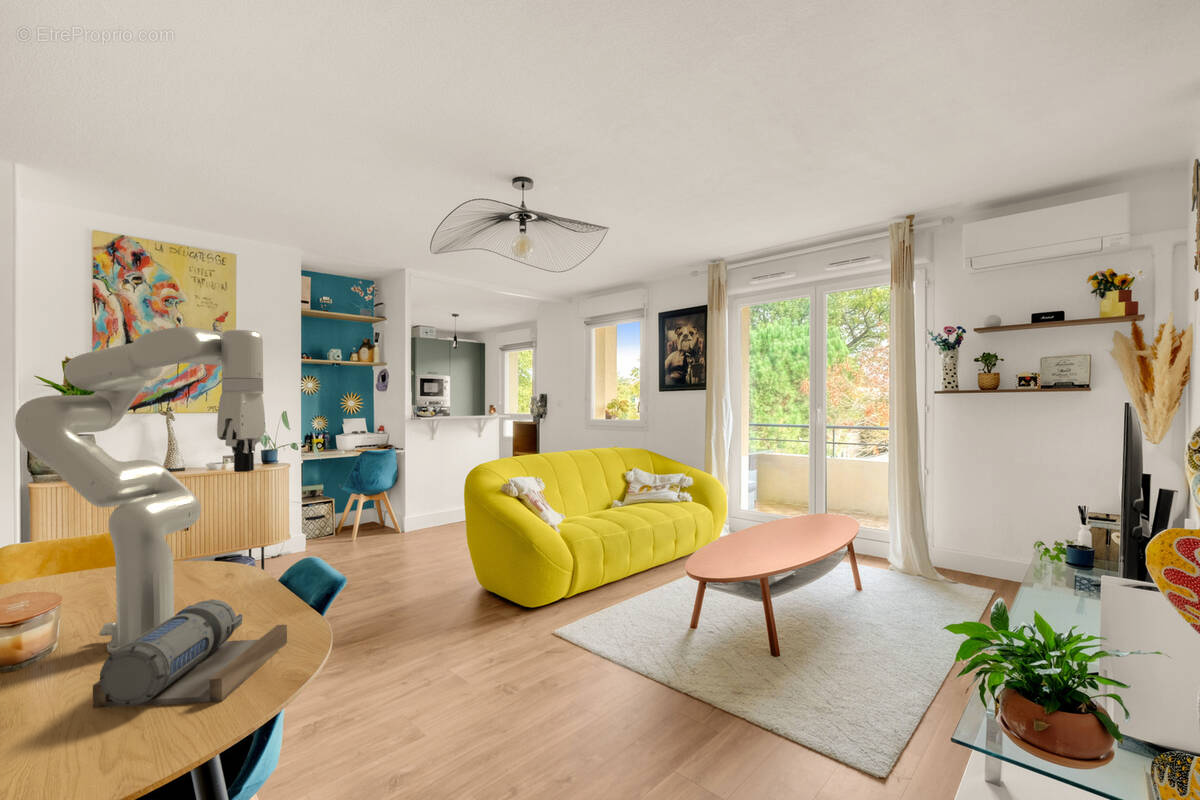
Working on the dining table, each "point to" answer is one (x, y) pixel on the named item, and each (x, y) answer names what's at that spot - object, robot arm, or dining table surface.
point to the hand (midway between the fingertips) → (244, 471)
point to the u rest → (212, 672)
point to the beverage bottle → (167, 651)
